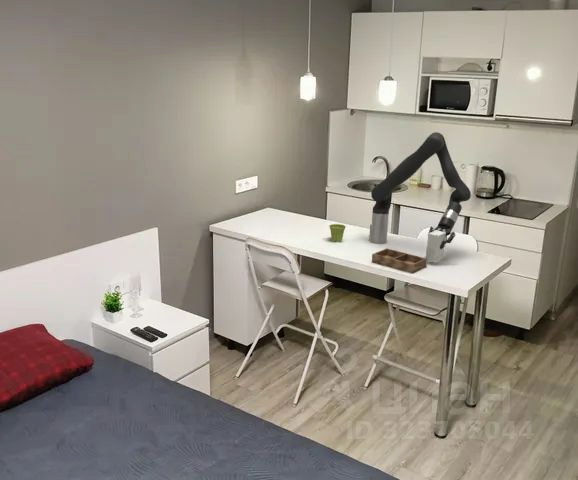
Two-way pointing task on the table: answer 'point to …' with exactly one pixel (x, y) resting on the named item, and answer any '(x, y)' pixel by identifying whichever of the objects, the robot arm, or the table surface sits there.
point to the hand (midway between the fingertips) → (435, 246)
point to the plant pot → (337, 232)
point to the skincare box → (435, 246)
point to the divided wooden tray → (399, 260)
